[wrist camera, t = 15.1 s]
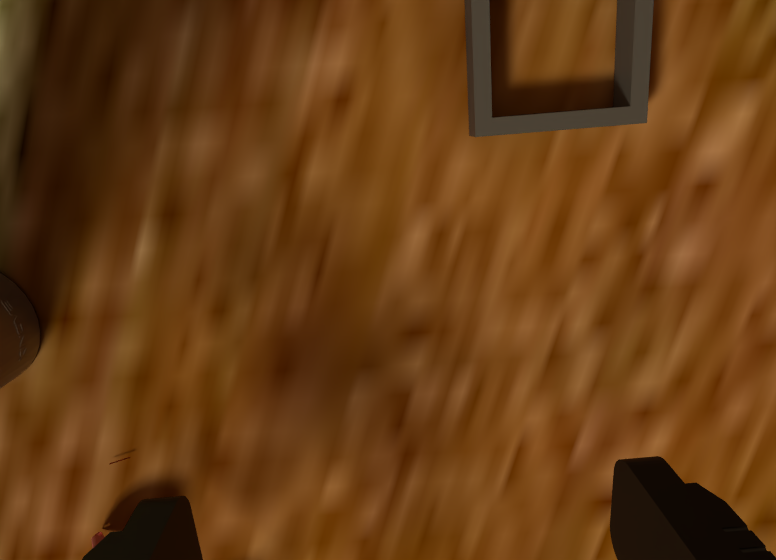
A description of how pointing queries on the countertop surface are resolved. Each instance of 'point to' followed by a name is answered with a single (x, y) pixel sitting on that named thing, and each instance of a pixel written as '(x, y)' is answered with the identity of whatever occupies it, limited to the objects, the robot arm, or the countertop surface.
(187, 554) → the robot arm
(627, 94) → the grey holder
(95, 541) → the figurine
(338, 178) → the countertop surface
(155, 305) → the countertop surface
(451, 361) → the countertop surface
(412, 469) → the countertop surface
